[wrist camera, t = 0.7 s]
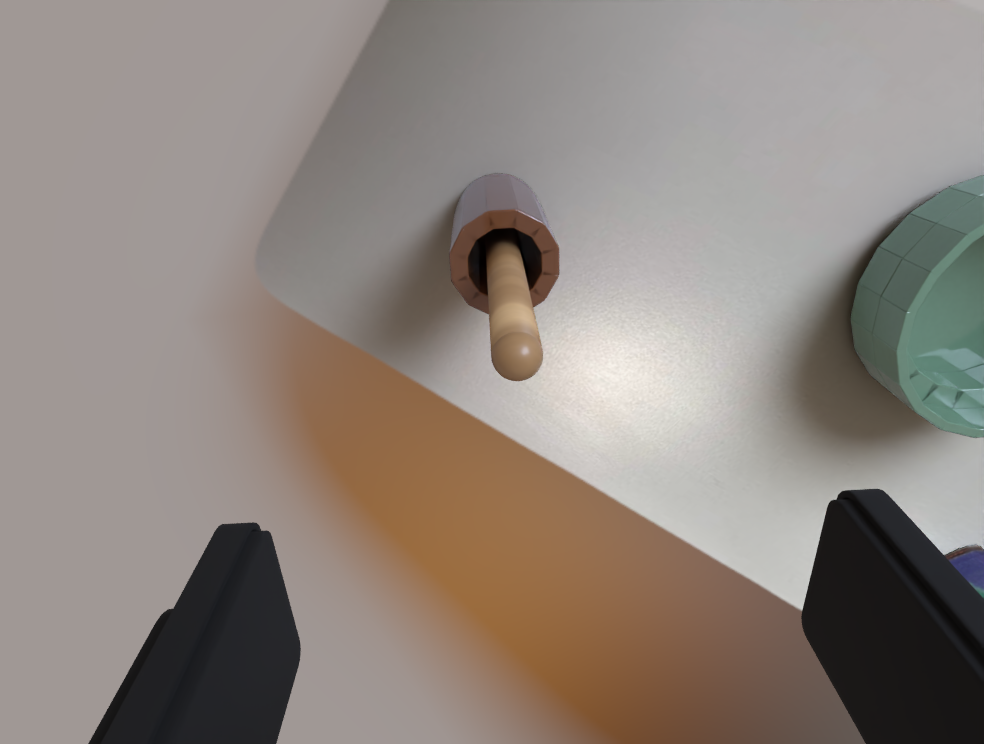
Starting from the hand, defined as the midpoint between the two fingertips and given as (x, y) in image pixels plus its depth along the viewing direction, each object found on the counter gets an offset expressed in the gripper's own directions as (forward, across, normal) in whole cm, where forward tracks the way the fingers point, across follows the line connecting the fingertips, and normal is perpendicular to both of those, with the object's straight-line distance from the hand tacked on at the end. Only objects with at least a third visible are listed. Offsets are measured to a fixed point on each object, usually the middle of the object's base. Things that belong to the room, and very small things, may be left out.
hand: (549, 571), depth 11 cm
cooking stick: (+27, 0, 0) cm, 27 cm away
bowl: (+28, -28, +6) cm, 40 cm away
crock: (+28, 0, +1) cm, 28 cm away
